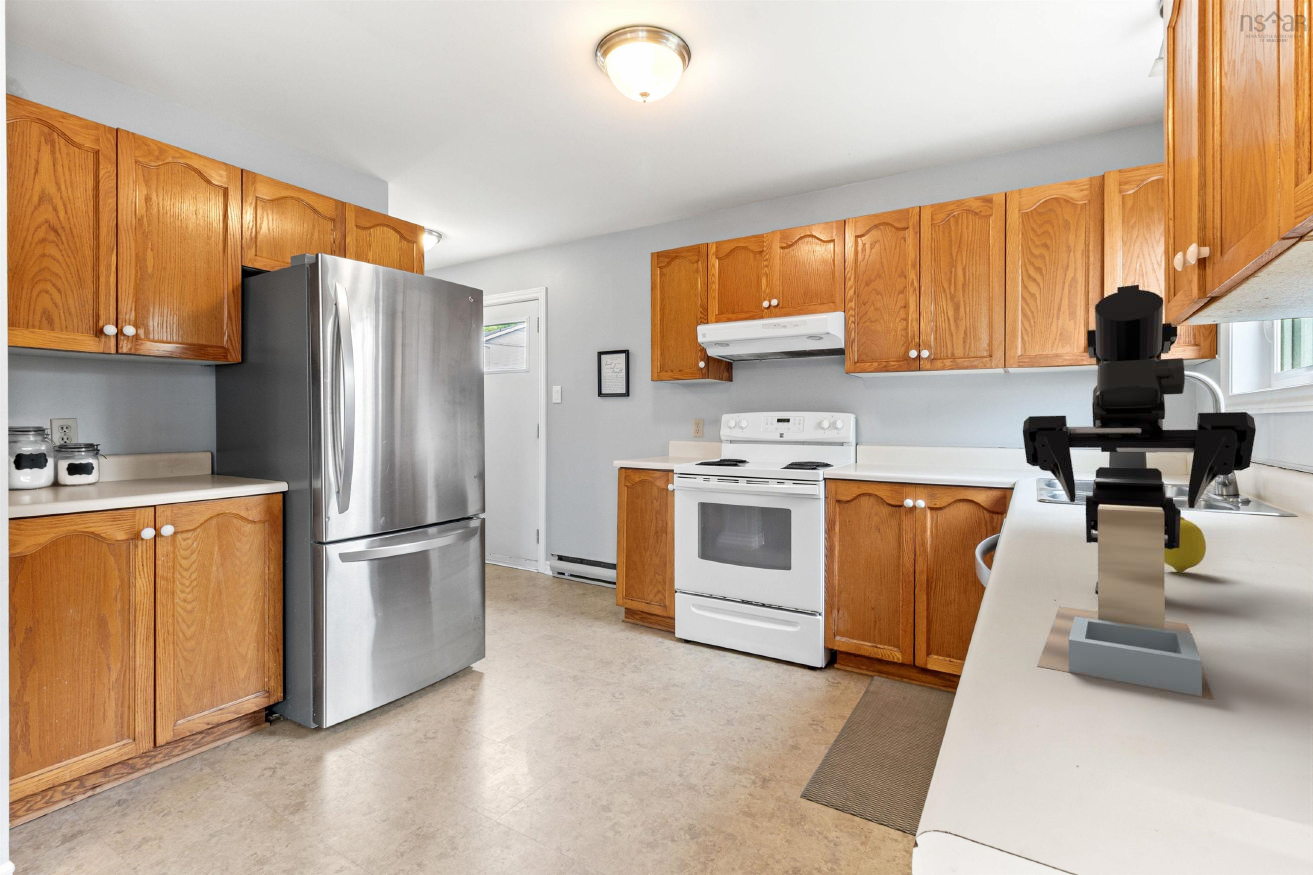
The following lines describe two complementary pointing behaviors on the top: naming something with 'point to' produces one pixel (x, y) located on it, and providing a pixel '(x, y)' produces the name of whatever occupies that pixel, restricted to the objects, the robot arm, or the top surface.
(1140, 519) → the beech pillar
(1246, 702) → the top surface
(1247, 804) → the top surface
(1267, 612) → the top surface
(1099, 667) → the slate socket block
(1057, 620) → the tan flat plate
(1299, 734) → the top surface
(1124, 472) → the robot arm
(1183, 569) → the lemon
